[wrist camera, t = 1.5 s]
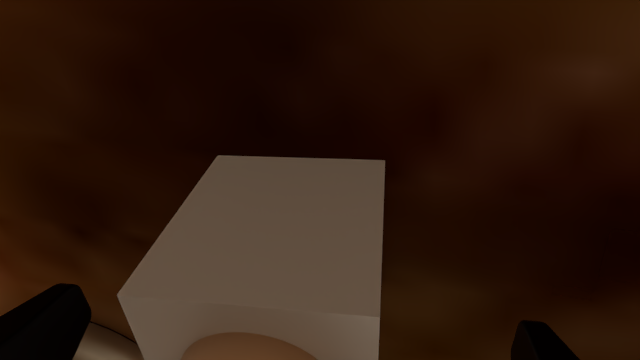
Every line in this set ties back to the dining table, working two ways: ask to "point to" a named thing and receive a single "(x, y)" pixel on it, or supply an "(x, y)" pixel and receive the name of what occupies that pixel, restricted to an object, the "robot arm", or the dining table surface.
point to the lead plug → (266, 265)
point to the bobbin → (106, 346)
